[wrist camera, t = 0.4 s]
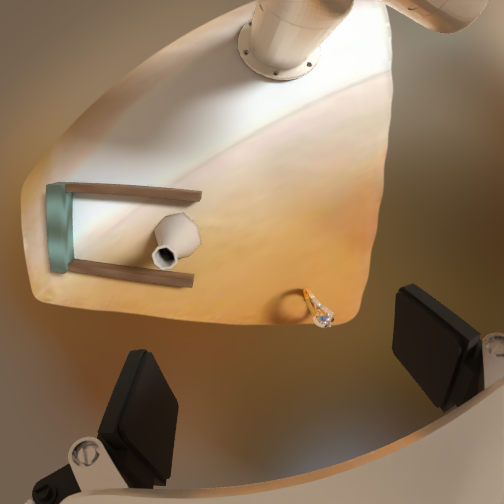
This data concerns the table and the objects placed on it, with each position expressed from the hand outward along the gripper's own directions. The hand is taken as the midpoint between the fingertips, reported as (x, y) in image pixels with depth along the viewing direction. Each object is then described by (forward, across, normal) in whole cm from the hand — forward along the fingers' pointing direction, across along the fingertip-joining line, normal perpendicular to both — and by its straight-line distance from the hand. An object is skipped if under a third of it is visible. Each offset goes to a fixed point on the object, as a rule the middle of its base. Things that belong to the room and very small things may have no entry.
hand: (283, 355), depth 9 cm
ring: (+34, -9, +17) cm, 39 cm away
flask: (+34, +10, +2) cm, 35 cm away
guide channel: (+34, +19, -2) cm, 38 cm away
